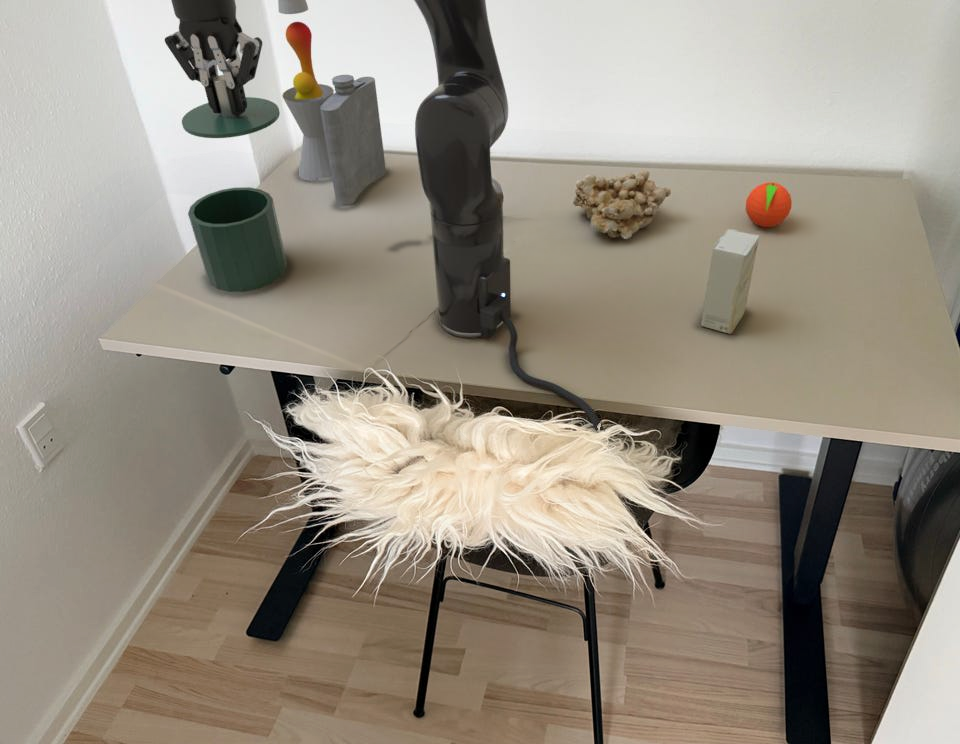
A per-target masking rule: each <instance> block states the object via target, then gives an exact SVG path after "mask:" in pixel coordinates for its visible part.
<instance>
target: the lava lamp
mask: <svg viewBox="0 0 960 744" xmlns="http://www.w3.org/2000/svg"><path fill="white" fill-rule="evenodd" d="M277 6H278V13H280V14H282V15H296V14H302V13H305V12H307V11H308V10H309V6H308V3H307V0H277ZM312 36H313V35H312V31H311V29H310V27H309V26H308V25H307V24H306V23H304V22H301V21H293V22H291V23H289V25H288V26H287V27H286V29H285V39H286V41H287V43H288V45H289V46H290V47H291V49H292V50H293V52H294V53H295V55H296V56H297V58H298V60H299V64H300V68H301V72H298V73H297V74H296V75H295V76H294V77H293V80H292V85H293V87H290V88H288V89H286V90H285V91H284V92H283V93H282V99H283V101H284V102H285V104H286V106H287V108H288V110H289V111H290V113H291V115H292V117H293V118H294V120H295V122H296V124H297V126H298V127H299V129H300V131H301V133H302V135H303V136H302V145H301V152H300V161H299V170H298V176H299V178H300V179H302V180H304V181H306V182H315V183H316V182H317V181H319V180H320V179H326V178H332V174H331V168H330V162H329V156H328V151H327V145H326V139H325V133H324V127H323V121H322V115H321V109H320V107H321V106H322V104H323V103H324V102H325V101H326V100H327V99H328V98H329V97H330V96H332V95H333V94H334V93H335V89H334V87H332V86H330V85H327V84H323V83H318V81H317V79H316V75H315V73H314V68H313V60H312V39H313V38H312Z"/></svg>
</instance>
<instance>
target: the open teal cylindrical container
mask: <svg viewBox="0 0 960 744" xmlns="http://www.w3.org/2000/svg"><path fill="white" fill-rule="evenodd" d="M187 216H188V219H189V222H190V225H191V228H192V232H193V235H194V239H195V242H196V246H197V248H198V253H199V255H200V258H201V262H202V266H203V268H204V271H205V275H206V278H207V280H208V283H209V285H211V286H212V287H214V288H216V289H217V290H220V291H224V292H228V293H229V292H231V293H235V292H236V293H238V292H239V293H241V292H242V293H243V292H250V291H254V290H258V289H261V288H264V287H267V286H268V285H271V284H272V283H274V282H276V281H277V280H279V279H280V278H281V277H282V276H283V275H284V274H285V273H286V271H287V266H288V260H287V256H286V251H285V247H284V243H283V238H282V234H281V229H280V225H279V221H278V217H277V212H276V208H275V202H274V199H273V197H272V195H271V194H270V193H269V192H267V191H265V190H263V189H260V188H255V187H231V188H225V189H224V188H223V189H220V190H217V191H214V192H211V193H208V194H206V195H204V196H202V197H200V198H198V199H197V200H196V201H194V203H192V204H191V205H190V206H189V209H188V212H187Z"/></svg>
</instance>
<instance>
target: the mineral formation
mask: <svg viewBox="0 0 960 744" xmlns="http://www.w3.org/2000/svg"><path fill="white" fill-rule="evenodd" d="M649 177H650V171H647V170H644V169H643V170H641V171H639V172H638V174H637V175H635V174H634V173H633V172H628V173H626V174H624V176H622V177H621V176H616V177H615V178H609V179H606V178H605V177H604V176H601V175H600V176H596V175H595V174H587V175H585V176H584V177H583V178H584V179H583V180H580V179H578V180H577V181H576V182H575V186H576V189H574V191H575V195H576V196H575V195H574V197H573V198H572V199H573V200H572V204H573V205H574V207H581V209H582V210H584V212H585V213H586V216H587V219H589V220H590V224H589V225H590V228H591V229H593V230H598V231H599V232H602V233H604V234H607V235H608V236H609V238H613V239H614V238H617V237H621V238H622V239H623V240H629V239H630V238H631V237H632V236H633V234H635V233H637V232H638V231H639V229H643V228H645V227H646V226H648V225H650V224H651V222H652V221H653V218H654V216H656V215H657V214H658V213H659V211H660V206H661V205H662V204H663V202H664V201H665V200H666V198H667V197H670V196H671V194H672V192H671V189H670V188H669V187H668V186H665V187H661V186H660V187H659V186H656V183H655V181H654V180H649Z"/></svg>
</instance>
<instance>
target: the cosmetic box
mask: <svg viewBox="0 0 960 744" xmlns="http://www.w3.org/2000/svg"><path fill="white" fill-rule="evenodd" d="M759 239H760V235H758V234H755V233H750V232H746V231H743V230H737V229H732V228H727V229H726V230H725V232H723V234H722V235H721V236H720V238H719V239H718V240H717V242H716V243H715V245H714V246H713V248H712V252H711V258H710V265H709V270H708V277H707V283H706V289H705V297H704V303H703V308H702V309H703V310H702V315H701V322H700V326H701V327H703V328H708V329H710V330H714V331H717V332H722V333H726V334H729V335H731V334H732V333H733V332H734V330H735V329H736V327H737V325H738V324H739V323H740V321H741V320H742V317H743V316H744V315H745V312H746V309H747V308H746V307H747V303H748V297H749V292H750V287H751V282H752V276H753V272H754V265H755V260H756V257H757V251H758V246H759Z"/></svg>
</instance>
